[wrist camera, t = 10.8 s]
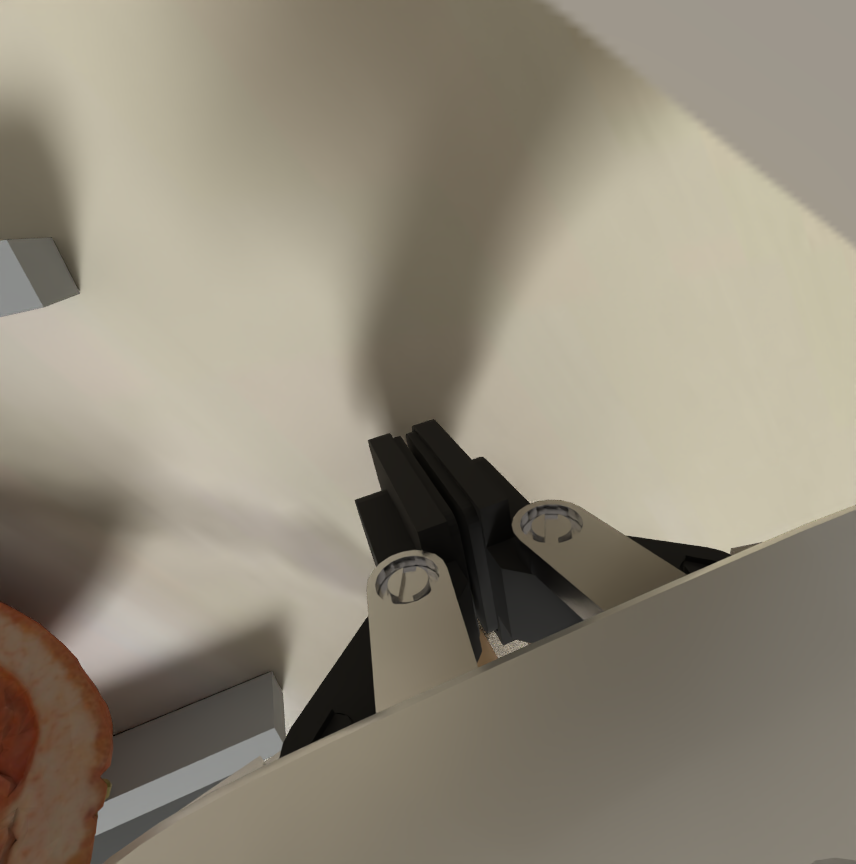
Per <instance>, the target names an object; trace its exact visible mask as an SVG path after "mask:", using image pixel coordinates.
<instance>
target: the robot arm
mask: <svg viewBox="0 0 856 864" xmlns="http://www.w3.org/2000/svg"><path fill="white" fill-rule="evenodd" d="M406 440H407V444H408V447H407V445H406V444H405V442H404V441H403V439H402V438H401V437H400V436H399V437H395V438H393V437H392V435H391V434H390V433H389V434H386V435H382V436H379V437H376V438H373V439H370V440H368V443H369V447H370V451H371V454H372V458H373V462H374V465H375V469H376V472H377V476H378V480H379V483H380V487H381V490H382V491H380V492H377V493H374V494H371V495H368V496H365V497H362V498H359V499H356V500H355V503H356V506H357V510H358V513H359V516H360V519H361V522H362V526H363V529H364V532H365V535H366V538H367V541H368V544H369V547H370V550H371V553H372V556H373V559H374V562H375V565H376V568H375V569H374V570H373V571H372V573H371V575H370V577H369V579H368V581H367V589H366V591H367V604H368V617H367V618H366V620H365V621H364V623H363V624H362V626H361V627H360V628H359V630H358V631H357V633H356V634H355V636H354V637H353V639H352V640H351V642H350V643H349V644H348V646H347V647H346V649H345V650H344V652H343V653H342V655H341V656H340V657H339V659H338V660H337V662H336V663H335V665H334V666H333V668H332V669H331V671H330V672H329V673H328V675H327V676H326V678H325V679H324V681H323V682H322V684H321V685H320V686H319V688H318V689H317V691H316V692H315V694H314V695H313V697H312V698H311V700H310V701H309V702H308V704H307V705H306V707H305V708H304V710H303V711H302V713H301V714H300V715H299V717H298V718H297V720H296V721H295V723H294V724H293V726H292V727H291V729H290V731H289V733H288V735H287V736H286V738H285V740H284V742H283V745H282V749H281V751H279V752H278V753H276V754H275V755H273V756H272V757H270V758H269V759H268V760H266V761H265V762H264V761H263V759H262V757H261V756H258V757H257V758H255V759H254V760H253V761H251V762H250V763H248V764H247V765H245V766H244V767H242V768H241V769H239V770H238V771H236V772H235V773H233V774H232V775H230V776H229V777H228V778H226V779H225V780H223V781H222V782H220V783H219V784H217V785H216V786H214V787H213V788H211V789H210V790H208V791H207V792H205V793H204V794H203V795H201V796H200V797H198V798H197V799H195V800H194V801H192V802H191V803H189V804H188V805H186V806H185V807H183V808H182V809H180V810H179V811H178V812H176V813H175V814H173V815H171V816H170V817H168V818H166V819H165V820H163V821H161V822H159V823H158V824H157V825H155V826H154V827H152V828H151V829H149V830H148V831H147V832H145V833H144V834H142V835H141V836H139V837H138V838H137V839H135V840H134V841H132V842H131V843H129V844H128V845H127V846H125V847H124V848H122V849H121V850H120V851H118V852H117V853H115V854H114V855H112V856H111V857H110V858H108V859H107V860H106V861H105V862H104V863H102V864H856V505H854V506H852V507H849V508H846V509H844V510H841V511H839V512H836V513H833V514H831V515H828V516H825V517H823V518H820V519H817V520H815V521H812V522H810V523H807V524H805V525H803V526H800V527H798V528H796V529H793V530H791V531H788V532H786V533H784V534H781V535H779V536H777V537H774V538H772V539H769V540H767V541H764V542H760V543H755V544H751V545H746V546H741V547H736V548H731V551H730V554H728V553H726V552H723V551H720V550H716V549H712V548H708V547H701V546H694V545H687V544H680V543H673V542H666V541H659V540H652V539H646V538H639V537H632V536H625V535H624V534H622V533H621V532H619V531H618V530H616V529H614V528H613V527H611V526H610V525H608V524H607V523H605V522H603V521H602V520H600V519H599V518H597V517H596V516H594V515H592V514H591V513H589V512H588V511H586V510H585V509H583V508H581V507H580V506H577V505H575V504H573V503H571V502H566V501H562V500H543V501H537V502H534V503H531V504H530V503H529V502H528V501H527V500H526V499H525V498H524V497H523V496H522V495H521V494H520V493H519V492H518V491H517V490H516V489H515V488H514V487H513V486H512V485H511V484H510V483H509V482H508V481H507V480H506V479H505V478H504V477H503V476H502V475H501V474H500V473H499V472H498V471H497V470H496V469H495V468H494V467H493V466H492V465H491V464H490V463H489V462H488V461H487V460H486V459H485V458H484V457H479V458H476V459H473V460H471V458H470V457H469V456H468V455H467V454H466V453H465V452H464V451H463V450H462V449H461V448H460V447H459V445H458V444H457V443H456V442H455V441H454V440H453V439H452V438H451V437H450V436H449V435H448V434H447V433H446V431H445V430H444V429H443V428H442V427H441V426H440V425H439V424H438V423H437V422H436V421H435V420H434V419H433V420H430V421H426V422H423V423H420V424H417V425H414V426H412V432H411V433H408V434H406ZM477 618H478V620H479V622H480V623H481V625H482V627H483V629H484V630H485V632H486V633H489V632H492V631H495V633H496V634H497V636H498V638H499V639H500V641H501V643H502V644H503V645H505V644H507V643H510V642H512V641H514V640H516V639H517V640H521V641H524V642H528V645H527V646H525V647H523V648H521V649H518V650H516V651H514V652H512V653H509V654H507V655H505V656H503V657H500V658H498V659H496V660H494V661H492V662H489V663H487V664H485V665H483V666H480V667H478V666H477V663H478V660H479V658H480V656H481V653H482V647H481V642H480V631H479V626H478V621H477Z"/></svg>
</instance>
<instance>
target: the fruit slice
mask: <svg viewBox="0 0 856 864" xmlns="http://www.w3.org/2000/svg"><path fill="white" fill-rule="evenodd" d="M112 735H113V724H112V720H111V715H110V712H109V709H108V706H107V704H106V703H105V701H104V700H103V698H102V697H101V695H100V693H99V691H98V689H97V688H96V686H95V685H94V683H93V682H92V681H91V679H90V678H89V676H88V675H87V674H86V672H85V671H84V670H83V668H82V667H81V665H80V663H79V661H78V659H77V658H76V657H75V656H74V655H73V654H72V653H71V651H70V650H69V649H68V648H67V647H66V646H65V645H64V644H63V643H62V642H61V641H59V640H58V639H57V638H56V637H55V636H54V635H52V634H51V633H50V632H49V631H48V630H47V629H45V628H44V627H43V626H42V625H41V624H39V623H38V622H36V621H35V620H33V619H31V618H30V617H28V616H26V615H25V614H23V613H21V612H19V611H18V610H16V609H14V608H12V607H10V606H8V605H6V604H4V603H2V602H0V864H90V863H91V858H92V851H93V845H94V839H95V838H94V836H95V834H96V827H97V819H98V811H99V810H100V809H101V808H102V807H103V805H104V801H105V800H106V799H107V798H108V797H109V795H110V791H111V788H112V784H111V782H110V781H109V780H108V779H102V778H101V775H102V774H103V773H104V772H105V771H106V770H107V769H108V768H109V767H110V766H111V760H112V753H113V737H112Z"/></svg>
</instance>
